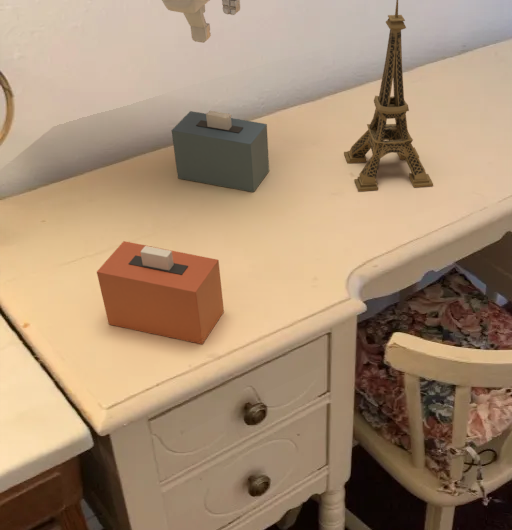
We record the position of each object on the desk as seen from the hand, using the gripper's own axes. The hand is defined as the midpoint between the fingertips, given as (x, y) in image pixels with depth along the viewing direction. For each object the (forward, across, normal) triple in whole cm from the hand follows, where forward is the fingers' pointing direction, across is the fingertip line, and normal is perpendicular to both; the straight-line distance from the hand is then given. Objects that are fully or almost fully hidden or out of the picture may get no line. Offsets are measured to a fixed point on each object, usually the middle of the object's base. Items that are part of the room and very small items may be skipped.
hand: (217, 26), depth 102 cm
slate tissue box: (+20, +1, -1) cm, 20 cm away
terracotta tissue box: (+20, +32, +6) cm, 38 cm away
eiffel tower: (+20, -8, +20) cm, 30 cm away
